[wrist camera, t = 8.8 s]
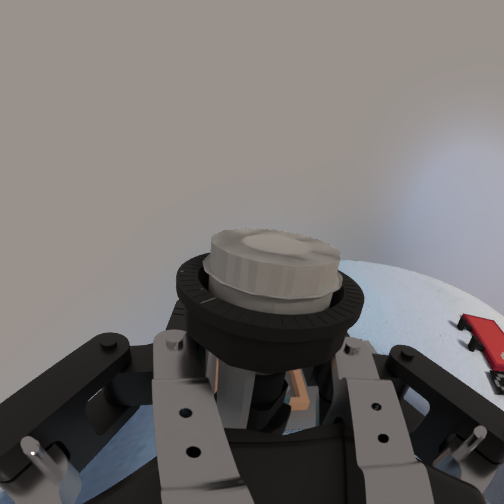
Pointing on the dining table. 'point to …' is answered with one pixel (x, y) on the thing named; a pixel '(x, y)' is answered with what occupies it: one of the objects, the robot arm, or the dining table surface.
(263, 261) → the push button
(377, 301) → the dining table surface
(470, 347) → the red board with handle
